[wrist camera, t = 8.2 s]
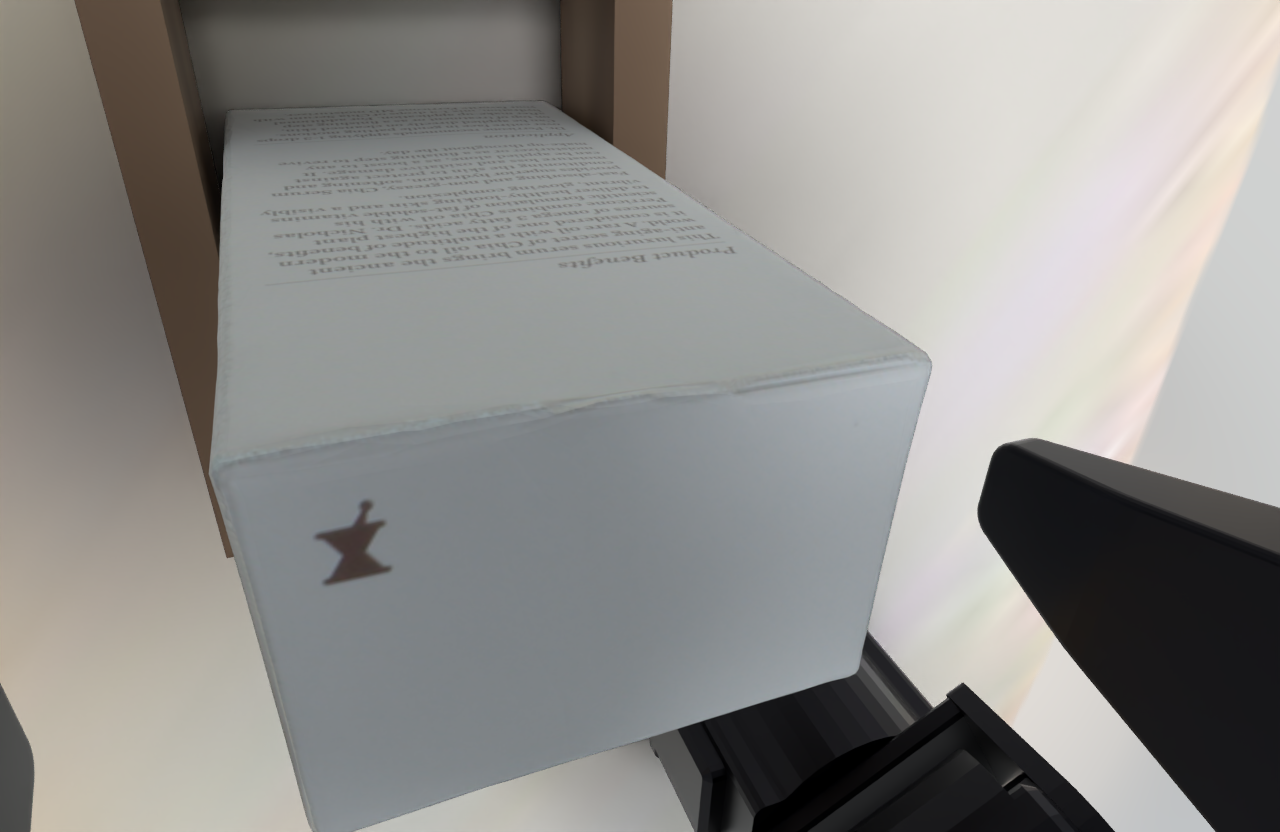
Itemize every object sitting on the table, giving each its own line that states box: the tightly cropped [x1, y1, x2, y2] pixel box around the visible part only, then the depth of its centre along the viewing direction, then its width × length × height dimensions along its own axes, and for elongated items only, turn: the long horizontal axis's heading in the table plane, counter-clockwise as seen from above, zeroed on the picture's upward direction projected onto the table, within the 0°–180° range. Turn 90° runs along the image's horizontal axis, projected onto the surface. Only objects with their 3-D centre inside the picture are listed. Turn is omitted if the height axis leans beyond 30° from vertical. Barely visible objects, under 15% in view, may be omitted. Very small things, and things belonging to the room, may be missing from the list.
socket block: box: [75, 0, 673, 558], centre depth 16 cm, size 8×10×3 cm
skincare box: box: [209, 101, 932, 832], centre depth 12 cm, size 6×4×12 cm
